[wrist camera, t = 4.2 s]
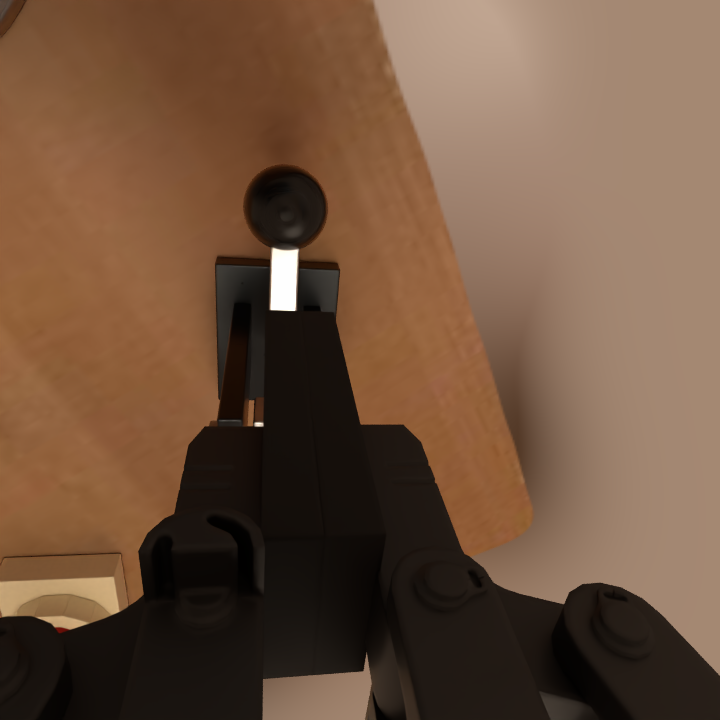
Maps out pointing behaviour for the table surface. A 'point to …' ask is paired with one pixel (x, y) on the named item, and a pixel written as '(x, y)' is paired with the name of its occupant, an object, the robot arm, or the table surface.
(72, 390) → the table surface
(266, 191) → the press lever
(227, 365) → the lever bracket
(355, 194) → the table surface
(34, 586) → the button housing
